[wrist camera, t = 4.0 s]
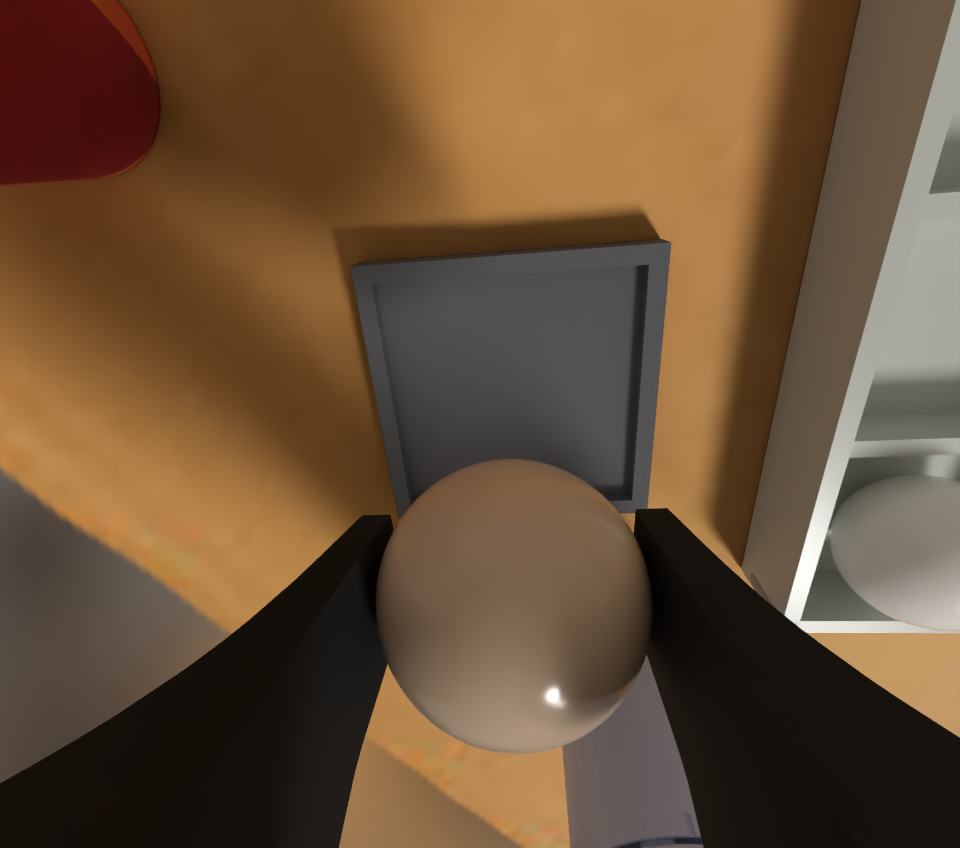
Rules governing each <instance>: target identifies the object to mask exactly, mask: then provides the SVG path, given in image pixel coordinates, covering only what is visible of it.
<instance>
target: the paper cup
mask: <svg viewBox="0 0 960 848" xmlns="http://www.w3.org/2000/svg"><path fill="white" fill-rule="evenodd" d="M159 120H160V93H159V86H158V80H157V76H156V72H155V68H154V65H153V62H152V59H151V56H150V54H149V51H148V49H147V46H146V44H145V42H144V40H143V38H142V36H141V34H140V32H139V31H138V29H137V27H136V26H135V24H134V22H133V21H132V19H131V18H130V16H129V15H128V14H127V12H126V11H125V9H124V8H123V7H122V6H121V4H120V3H119V2H118V1H117V0H0V186H10V185H25V184H40V183H55V182H67V181H79V180H91V179H99V178H106V177H112V176H115V175H119V174H122V173H124V172H127V171H129V170H130V169H132V168H134V167H135V166H136V165H138V164H139V163H140V162H141V161H142V160H143V159H144V158H145V156H146V155H147V154H148V152H149V150H150V149H151V147H152V145H153V143H154V140H155V137H156V134H157V131H158V126H159Z"/></svg>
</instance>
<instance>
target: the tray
mask: <svg viewBox="0 0 960 848" xmlns="http://www.w3.org/2000/svg"><path fill="white" fill-rule="evenodd" d="M899 475H930V476H937V477H943V478H947V479H951V480H955V481H959V482H960V0H861V4H860V9H859V13H858V18H857V23H856V28H855V32H854V37H853V42H852V47H851V51H850V56H849V61H848V66H847V70H846V75H845V80H844V85H843V89H842V94H841V99H840V104H839V108H838V113H837V118H836V122H835V127H834V132H833V137H832V141H831V146H830V151H829V156H828V160H827V165H826V170H825V175H824V179H823V184H822V189H821V194H820V198H819V203H818V208H817V213H816V217H815V222H814V227H813V232H812V236H811V241H810V246H809V251H808V255H807V260H806V265H805V270H804V274H803V279H802V284H801V289H800V293H799V298H798V303H797V307H796V312H795V317H794V322H793V326H792V331H791V336H790V341H789V345H788V350H787V355H786V360H785V364H784V369H783V374H782V379H781V383H780V388H779V393H778V398H777V402H776V407H775V412H774V417H773V421H772V426H771V431H770V436H769V440H768V445H767V450H766V455H765V459H764V464H763V469H762V474H761V478H760V483H759V488H758V492H757V497H756V502H755V507H754V511H753V516H752V521H751V526H750V530H749V535H748V540H747V545H746V549H745V554H744V559H743V564H742V568H741V569H742V571H743V572H744V574H745V576H746V578H747V579H748V581H749V582H750V583H751V585H752V587H753V588H754V590H755V591H756V592H757V593H758V594H759V595H760V596H761V597H763V598H764V599H765V600H766V601H767V602H769V603H770V604H771V605H772V606H774V607H775V608H776V609H777V610H778V611H780V612H781V613H782V614H783V615H785V616H786V617H787V618H788V619H789V620H791V621H792V622H793V623H794V624H796V625H797V626H798V627H799V628H801V629H802V630H803V631H805V632H806V633H960V631H942V630H933V629H927V628H921V627H917V626H913V625H910V624H907V623H904V622H901V621H899V620H896V619H894V618H892V617H890V616H887V615H886V614H884V613H882V612H880V611H878V610H877V609H875V608H874V607H872V606H871V605H869V604H868V603H867V602H865V601H864V600H863V599H862V598H860V597H859V596H858V595H857V594H856V593H855V592H854V591H853V590H852V589H851V588H850V587H849V585H848V584H847V583H846V582H845V580H844V579H843V578H842V576H841V574H840V573H839V571H838V569H837V567H836V565H835V563H834V560H833V557H832V553H831V549H830V530H831V525H832V521H833V519H834V516H835V514H836V513H837V511H838V509H839V507H840V506H841V505H842V503H843V502H844V501H845V500H846V499H847V498H848V497H849V496H850V495H851V494H853V493H854V492H855V491H857V490H858V489H860V488H862V487H863V486H865V485H867V484H870V483H872V482H875V481H877V480H881V479H884V478H888V477H893V476H899Z"/></svg>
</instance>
